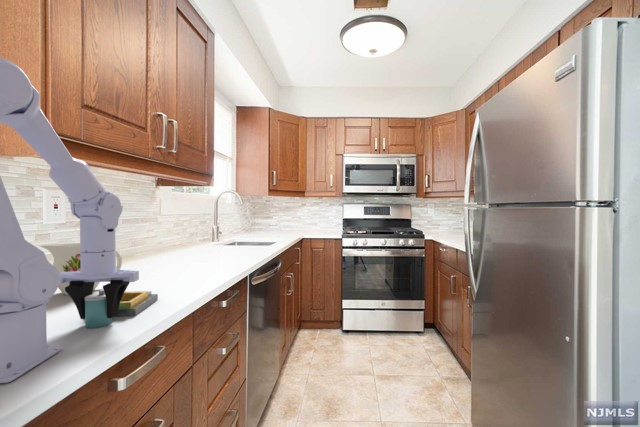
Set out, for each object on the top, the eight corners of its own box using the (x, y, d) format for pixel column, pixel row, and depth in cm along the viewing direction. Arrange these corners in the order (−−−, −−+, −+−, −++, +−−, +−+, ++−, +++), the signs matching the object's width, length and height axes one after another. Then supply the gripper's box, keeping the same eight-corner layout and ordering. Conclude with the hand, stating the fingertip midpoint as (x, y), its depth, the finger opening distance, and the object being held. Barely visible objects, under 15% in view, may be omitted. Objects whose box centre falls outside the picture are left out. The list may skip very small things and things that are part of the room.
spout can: (104, 328, 57) (103, 295, 57) (79, 329, 57) (78, 295, 57) (117, 319, 62) (117, 288, 62) (94, 319, 62) (94, 289, 61)
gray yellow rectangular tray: (135, 315, 64) (135, 302, 64) (86, 317, 63) (86, 303, 63) (160, 297, 76) (160, 286, 76) (119, 299, 75) (119, 287, 75)
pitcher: (126, 288, 85) (125, 241, 85) (41, 302, 72) (40, 247, 72) (117, 281, 93) (117, 238, 92) (39, 293, 80) (38, 243, 79)
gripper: (145, 247, 64) (146, 308, 64) (74, 248, 62) (75, 311, 63) (128, 252, 57) (128, 321, 57) (47, 253, 55) (48, 324, 56)
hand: (99, 316), depth 59 cm, fingers closed on spout can, 4 cm apart
